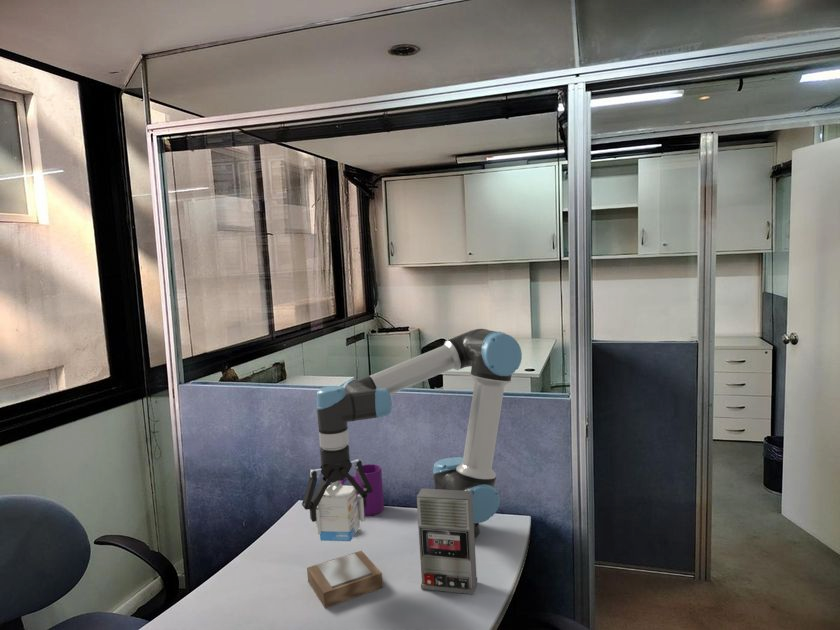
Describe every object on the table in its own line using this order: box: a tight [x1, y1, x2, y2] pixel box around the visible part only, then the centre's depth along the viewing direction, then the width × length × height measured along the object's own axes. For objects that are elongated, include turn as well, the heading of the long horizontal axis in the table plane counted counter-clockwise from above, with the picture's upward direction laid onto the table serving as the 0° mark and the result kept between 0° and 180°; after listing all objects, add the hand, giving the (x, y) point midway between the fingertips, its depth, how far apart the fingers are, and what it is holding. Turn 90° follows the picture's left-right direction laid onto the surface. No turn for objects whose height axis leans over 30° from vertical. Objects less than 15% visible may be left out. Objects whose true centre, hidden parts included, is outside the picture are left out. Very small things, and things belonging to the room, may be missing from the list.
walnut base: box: [306, 550, 384, 609], centre depth 150 cm, size 16×14×4 cm
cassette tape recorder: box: [416, 488, 478, 595], centre depth 146 cm, size 14×6×25 cm, turn 75°
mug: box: [339, 463, 385, 517], centre depth 194 cm, size 9×16×15 cm, turn 94°
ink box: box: [317, 481, 361, 542], centre depth 149 cm, size 9×8×13 cm
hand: (340, 525), depth 149 cm, fingers closed on ink box, 11 cm apart
